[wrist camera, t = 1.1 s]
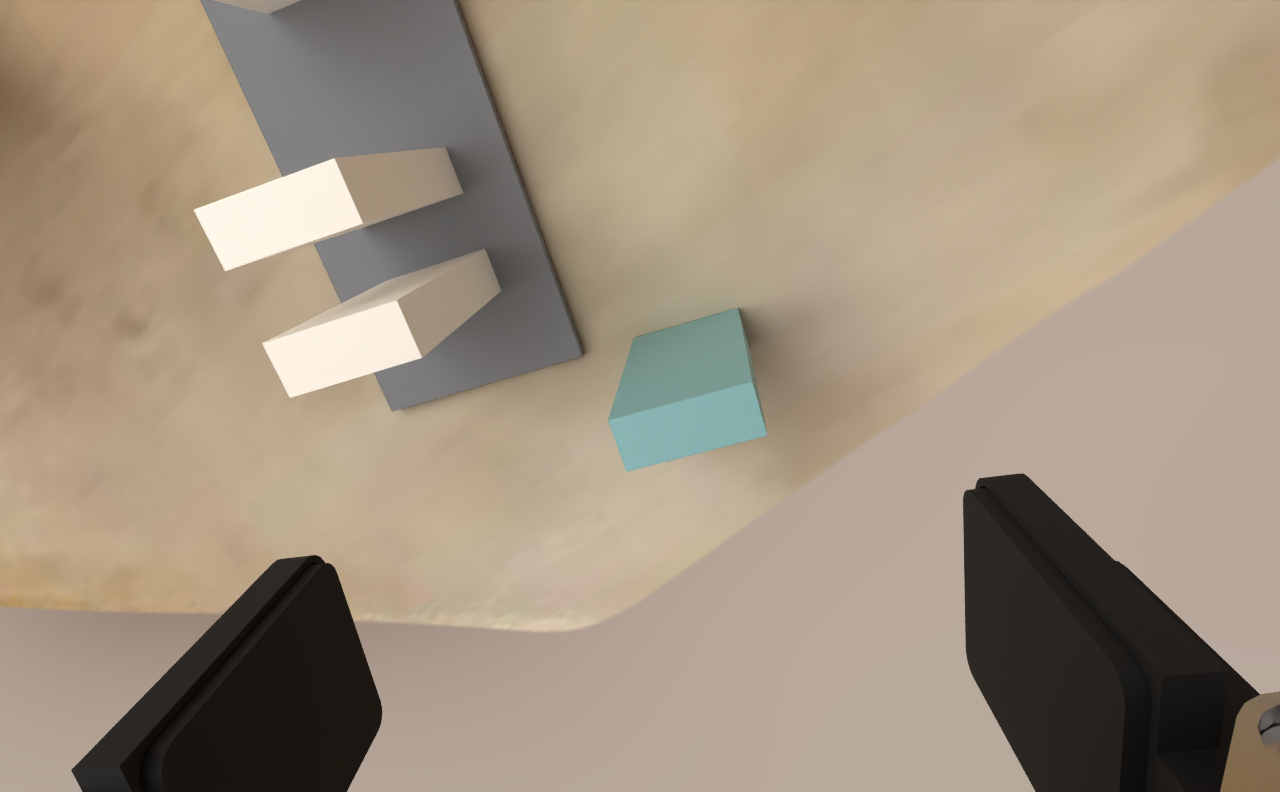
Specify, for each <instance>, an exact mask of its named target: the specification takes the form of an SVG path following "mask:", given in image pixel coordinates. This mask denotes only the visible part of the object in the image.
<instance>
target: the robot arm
mask: <svg viewBox="0 0 1280 792" xmlns="http://www.w3.org/2000/svg"><path fill="white" fill-rule="evenodd" d="M963 515H964V516H963V518H964V573H965V623H966V624H965V625H966V626H965V627H966V628H965V629H966V654H967V660H968V664H969V667H970V670H971V673H972V675H973V677H974V679H975V681H976V683H977V685H978V686H979V688H980V690H981V692H982V694H983V696H984V698H985V700H986V701H987V703H988V705H989V707H990V709H991V710H992V712H993V714H994V716H995V718H996V720H997V721H998V723H999V725H1000V727H1001V729H1002V731H1003V733H1004V734H1005V736H1006V738H1007V740H1008V742H1009V743H1010V745H1011V747H1012V749H1013V751H1014V753H1015V755H1016V756H1017V758H1018V760H1019V762H1020V764H1021V766H1022V767H1023V769H1024V771H1025V773H1026V775H1027V776H1028V778H1029V780H1030V782H1031V784H1032V786H1033V788H1034V789H1035V791H1036V792H1280V692H1274V693H1268V694H1261V695H1260V694H1259V693H1258V692H1257V691H1256V690H1255V689H1254V688H1253V687H1252V686H1251V685H1250V684H1249V683H1248V682H1246V681H1245V680H1244V679H1243V678H1242V677H1241V676H1240V675H1239V674H1238V673H1237V672H1236V671H1235V670H1234V669H1233V668H1232V667H1231V666H1230V665H1229V664H1228V663H1227V662H1226V661H1224V660H1223V659H1222V658H1221V657H1220V656H1219V655H1218V654H1217V653H1216V652H1215V651H1214V650H1213V649H1212V648H1211V647H1210V646H1209V645H1208V644H1207V643H1206V642H1205V641H1203V640H1202V639H1201V638H1200V637H1199V636H1198V635H1197V634H1196V633H1195V632H1194V631H1193V630H1192V629H1191V628H1190V627H1189V626H1188V625H1187V624H1186V623H1185V622H1184V621H1183V620H1181V619H1180V618H1179V617H1178V616H1177V615H1176V614H1175V613H1174V612H1173V611H1172V610H1171V609H1170V608H1169V607H1168V606H1167V605H1166V604H1165V603H1164V602H1163V601H1162V600H1160V599H1159V598H1158V597H1157V596H1156V595H1155V594H1154V593H1153V592H1152V591H1151V590H1150V589H1149V588H1148V587H1147V586H1146V585H1145V584H1144V583H1143V582H1142V581H1141V580H1140V579H1138V578H1137V577H1136V576H1135V575H1134V574H1133V573H1132V572H1131V571H1130V570H1129V569H1128V568H1127V567H1125V566H1124V565H1123V564H1121V563H1120V562H1118V561H1115V560H1113V559H1112V558H1111V557H1110V556H1109V555H1108V554H1107V553H1106V552H1105V551H1104V550H1103V549H1102V548H1101V547H1100V546H1099V545H1098V544H1097V543H1096V542H1095V541H1094V540H1093V539H1092V538H1091V537H1089V535H1087V533H1086V532H1085V531H1083V530H1082V529H1081V528H1080V527H1079V526H1078V525H1077V524H1076V523H1075V522H1074V521H1073V520H1072V519H1071V518H1070V517H1069V516H1068V515H1067V514H1066V513H1065V512H1064V511H1063V510H1062V509H1060V507H1058V505H1057V504H1055V503H1054V502H1053V501H1052V500H1051V499H1050V498H1049V497H1048V496H1047V495H1046V494H1045V493H1044V492H1043V491H1042V490H1041V489H1040V488H1039V487H1038V486H1037V485H1036V484H1035V483H1034V482H1033V481H1032V480H1031V479H1030V478H1029V477H1027V476H1026V475H1024V474H1013V475H1004V476H995V477H987V478H980V479H979V480H978V481H977V484H976V488H975V489H973V490H966V491H965V493H964V497H963ZM381 720H382V706H381V701H380V698H379V695H378V692H377V689H376V686H375V684H374V681H373V678H372V675H371V672H370V669H369V666H368V663H367V660H366V657H365V654H364V651H363V648H362V645H361V642H360V639H359V636H358V633H357V631H356V628H355V625H354V622H353V619H352V616H351V613H350V610H349V607H348V604H347V601H346V598H345V595H344V592H343V589H342V586H341V583H340V580H339V577H338V575H337V572H336V570H335V568H334V567H333V566H332V565H331V564H329V563H325V562H324V561H323V559H322V558H321V557H319V556H317V555H312V556H304V557H295V558H286V559H279V560H277V561H275V562H274V563H273V564H272V565H271V566H270V567H269V568H268V569H267V570H266V571H265V572H264V573H263V574H262V575H261V576H260V577H259V578H258V579H257V580H256V581H255V582H254V583H253V584H252V585H251V586H250V587H249V588H248V589H247V590H246V591H245V592H244V594H243V595H242V596H241V597H240V598H239V599H238V600H237V601H236V602H235V603H234V604H233V605H232V606H231V607H230V608H229V609H228V610H227V611H226V612H225V613H224V614H223V615H222V616H221V617H220V618H219V619H218V620H217V621H216V622H215V623H214V624H213V625H212V626H211V627H210V628H209V629H208V630H207V632H206V633H205V634H204V635H203V636H202V637H201V638H200V639H199V640H198V641H197V642H196V643H195V644H194V645H193V646H192V647H191V648H190V649H189V650H188V651H187V652H186V653H185V654H184V655H183V656H182V657H181V658H180V659H179V660H178V661H177V662H176V663H175V664H174V665H173V666H172V667H171V668H170V669H169V670H168V672H167V673H166V674H165V675H164V676H163V677H162V678H161V679H160V680H159V681H158V682H157V683H156V684H155V685H154V686H153V687H152V688H151V689H150V690H149V691H148V692H147V693H146V694H145V695H144V696H143V697H142V698H141V699H140V700H139V701H138V702H137V703H136V704H135V705H134V707H132V709H130V711H129V712H128V713H127V714H126V715H125V716H124V717H123V718H122V719H121V720H120V721H119V722H118V723H117V724H116V725H115V726H114V727H113V728H112V729H111V730H110V731H109V732H108V733H107V734H106V735H105V736H104V737H103V738H102V739H101V740H100V741H99V742H98V744H97V745H95V746H94V748H92V750H91V751H90V752H89V753H88V754H87V755H86V756H85V757H84V758H83V759H82V760H81V761H80V762H79V763H78V764H77V765H76V766H75V767H74V768H73V769H72V773H73V774H74V776H75V778H76V780H77V782H78V784H79V786H80V787H81V790H82V791H83V792H347V790H348V788H349V786H350V784H351V782H352V780H353V779H354V777H355V774H356V773H357V771H358V769H359V767H360V765H361V763H362V761H363V759H364V757H365V755H366V753H367V751H368V749H369V748H370V746H371V744H372V742H373V740H374V738H375V736H376V734H377V732H378V730H379V727H380V724H381Z"/></svg>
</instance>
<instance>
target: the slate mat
mask: <svg viewBox="0 0 1280 792" xmlns="http://www.w3.org/2000/svg"><path fill="white" fill-rule="evenodd" d="M201 3H202V5H203V7H204V9H205V11H206V13H207V15H208V18H209V20H210V22H211V24H212V26H213V28H214V30H215V33H216V35H217V37H218V39H219V41H220V43H221V45H222V48H223V50H224V52H225V54H226V56H227V58H228V61H229V63H230V65H231V67H232V69H233V71H234V73H235V76H236V78H237V80H238V82H239V84H240V86H241V88H242V91H243V93H244V95H245V97H246V99H247V101H248V104H249V106H250V108H251V110H252V112H253V114H254V116H255V119H256V121H257V123H258V125H259V127H260V129H261V131H262V134H263V136H264V138H265V140H266V142H267V144H268V146H269V149H270V151H271V153H272V155H273V157H274V159H275V162H276V164H277V166H278V168H279V170H280V172H281V174H282V177H284V176H287V175H290V174H292V173H295V172H298V171H301V170H303V169H306V168H309V167H311V166H314V165H317V164H320V163H322V162H325V161H328V160H331V159H333V158H340V157H350V156H360V155H370V154H380V153H390V152H400V151H410V150H420V149H430V148H440V147H446V149H447V152H448V154H449V157H450V160H451V162H452V165H453V167H454V170H455V172H456V175H457V178H458V180H459V183H460V185H461V188H462V190H463V194H460V195H457V196H454V197H451V198H448V199H445V200H442V201H440V202H437V203H434V204H431V205H428V206H425V207H422V208H419V209H416V210H413V211H411V212H408V213H405V214H402V215H399V216H396V217H393V218H390V219H387V220H384V221H381V222H379V223H376V224H373V225H370V226H367V227H364V228H361V229H358V230H355V231H351V232H348V233H345V234H342V235H339V236H336V237H332V238H329V239H326V240H323V241H320V242H316V243H314V245H315V247H316V250H317V252H318V254H319V256H320V258H321V260H322V262H323V265H324V267H325V269H326V271H327V273H328V275H329V278H330V280H331V282H332V284H333V286H334V288H335V290H336V293H337V295H338V297H339V299H340V301H341V303H343V302H345V301H347V300H349V299H351V298H353V297H355V296H357V295H359V294H361V293H363V292H365V291H367V290H369V289H371V288H373V287H375V286H377V285H379V284H381V283H383V282H385V281H387V280H390V279H393V278H396V277H400V276H403V275H406V274H409V273H412V272H415V271H418V270H421V269H424V268H427V267H430V266H433V265H436V264H439V263H442V262H445V261H448V260H451V259H455V258H458V257H461V256H464V255H467V254H470V253H473V252H476V251H479V250H482V249H485V250H486V252H487V255H488V257H489V260H490V262H491V265H492V268H493V270H494V273H495V275H496V278H497V280H498V283H499V286H500V288H501V292H500V293H498V294H497V295H496V296H495V297H494V298H492V299H491V300H490V301H489V302H488V303H487V304H485V305H484V306H483V307H482V308H481V309H479V310H478V311H477V312H476V313H475V314H473V315H472V316H471V317H470V318H469V319H468V320H466V321H465V322H464V323H463V324H462V325H460V326H459V327H458V328H457V329H456V330H455V331H453V332H452V333H451V334H450V335H449V336H447V337H446V338H445V339H444V340H443V341H441V342H440V343H439V344H438V345H437V346H436V347H434V348H433V349H432V350H431V351H430V352H428V353H427V354H426V355H425V356H424V357H423V358H420V359H417V360H413V361H410V362H407V363H404V364H400V365H397V366H394V367H390V368H387V369H384V370H380V371H377V372H374V374H375V376H376V379H377V381H378V383H379V385H380V387H381V389H382V391H383V394H384V396H385V398H386V400H387V402H388V404H389V406H390V409H391V411H396V410H399V409H402V408H406V407H409V406H413V405H416V404H420V403H423V402H427V401H430V400H434V399H437V398H440V397H444V396H447V395H451V394H454V393H458V392H461V391H465V390H468V389H472V388H475V387H478V386H482V385H485V384H489V383H492V382H496V381H499V380H503V379H506V378H510V377H513V376H516V375H520V374H523V373H527V372H530V371H534V370H537V369H541V368H544V367H547V366H551V365H554V364H558V363H561V362H565V361H568V360H572V359H575V358H579V357H582V356H583V354H584V351H583V348H582V346H581V343H580V340H579V337H578V335H577V332H576V329H575V326H574V323H573V321H572V318H571V315H570V312H569V310H568V307H567V304H566V301H565V299H564V296H563V293H562V290H561V287H560V285H559V282H558V279H557V276H556V274H555V271H554V268H553V265H552V263H551V260H550V257H549V254H548V251H547V249H546V246H545V243H544V240H543V238H542V235H541V232H540V229H539V227H538V224H537V221H536V218H535V215H534V213H533V210H532V207H531V204H530V202H529V199H528V196H527V193H526V191H525V188H524V185H523V182H522V179H521V177H520V174H519V171H518V168H517V166H516V163H515V160H514V157H513V155H512V152H511V149H510V146H509V143H508V141H507V138H506V135H505V132H504V130H503V127H502V124H501V121H500V119H499V116H498V113H497V110H496V107H495V105H494V102H493V99H492V96H491V94H490V91H489V88H488V85H487V83H486V80H485V77H484V74H483V71H482V69H481V66H480V63H479V60H478V58H477V55H476V52H475V49H474V47H473V44H472V41H471V38H470V36H469V33H468V30H467V27H466V24H465V22H464V19H463V16H462V13H461V11H460V8H459V5H458V2H457V0H301V1H298V2H296V3H294V4H291V5H289V6H286V7H284V8H282V9H279V10H277V11H274V12H272V13H270V14H266V13H262V12H258V11H254V10H250V9H246V8H242V7H238V6H234V5H230V4H226V3H222V2H218V1H214V0H201Z"/></svg>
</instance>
